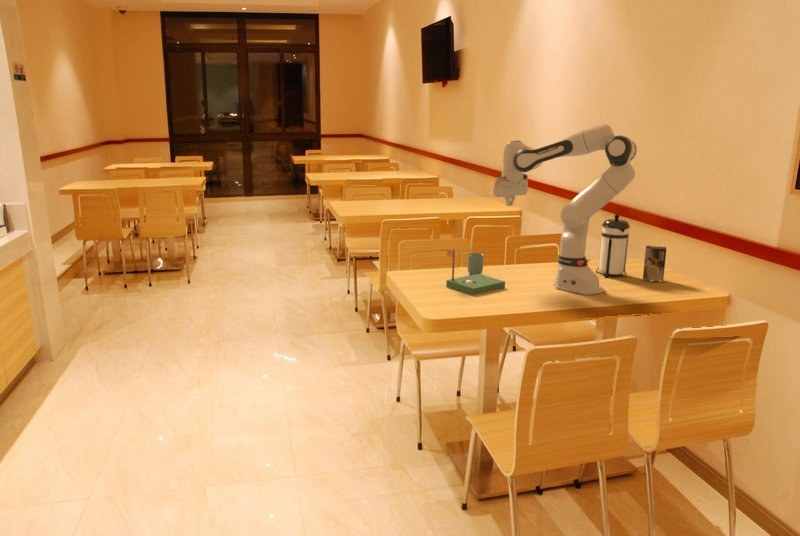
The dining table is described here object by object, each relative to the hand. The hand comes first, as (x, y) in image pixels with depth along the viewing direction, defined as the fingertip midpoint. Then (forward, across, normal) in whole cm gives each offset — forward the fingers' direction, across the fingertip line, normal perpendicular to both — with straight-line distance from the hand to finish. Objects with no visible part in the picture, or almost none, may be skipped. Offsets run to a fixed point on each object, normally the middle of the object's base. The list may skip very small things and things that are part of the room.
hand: (509, 205), depth 291 cm
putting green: (+34, -27, -5) cm, 44 cm away
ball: (+32, -31, -6) cm, 45 cm away
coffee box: (+34, +51, -47) cm, 77 cm away
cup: (+34, -11, +10) cm, 37 cm away
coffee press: (+34, +44, -28) cm, 62 cm away
